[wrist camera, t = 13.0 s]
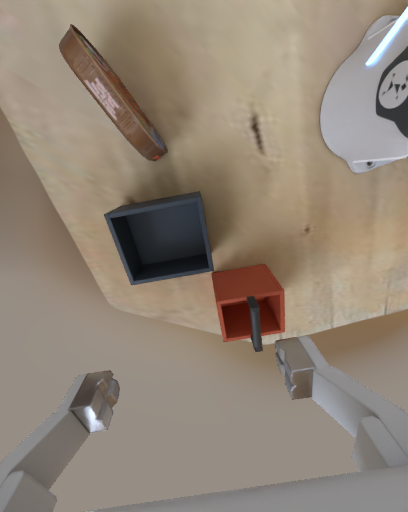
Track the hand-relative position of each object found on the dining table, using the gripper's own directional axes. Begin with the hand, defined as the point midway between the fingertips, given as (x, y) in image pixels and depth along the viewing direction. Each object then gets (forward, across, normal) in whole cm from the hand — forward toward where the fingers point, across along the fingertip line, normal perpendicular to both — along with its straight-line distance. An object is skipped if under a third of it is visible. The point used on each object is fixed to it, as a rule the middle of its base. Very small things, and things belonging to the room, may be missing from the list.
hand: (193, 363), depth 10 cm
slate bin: (+28, +5, +1) cm, 29 cm away
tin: (+29, +6, -18) cm, 34 cm away
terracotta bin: (+28, -6, +16) cm, 33 cm away
